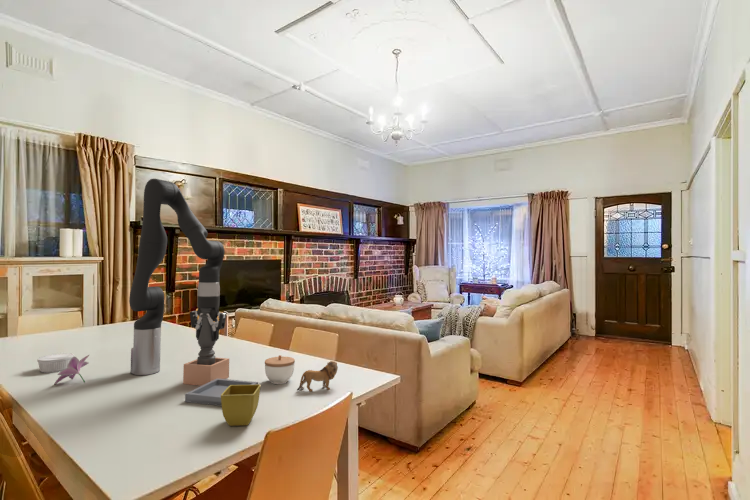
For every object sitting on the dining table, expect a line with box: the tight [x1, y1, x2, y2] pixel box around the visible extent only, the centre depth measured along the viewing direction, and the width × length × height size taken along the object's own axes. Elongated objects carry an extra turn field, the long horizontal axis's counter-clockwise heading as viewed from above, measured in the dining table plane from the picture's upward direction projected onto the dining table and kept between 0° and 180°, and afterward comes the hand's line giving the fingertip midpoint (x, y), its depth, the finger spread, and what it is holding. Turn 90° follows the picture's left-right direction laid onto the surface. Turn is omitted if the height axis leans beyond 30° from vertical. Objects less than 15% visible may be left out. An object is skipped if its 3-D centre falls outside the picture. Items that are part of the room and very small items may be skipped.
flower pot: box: [221, 384, 261, 427], centre depth 106 cm, size 9×9×9 cm
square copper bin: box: [182, 356, 230, 387], centre depth 141 cm, size 11×11×7 cm
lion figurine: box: [296, 360, 339, 393], centre depth 133 cm, size 15×5×9 cm, turn 118°
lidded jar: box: [264, 355, 296, 385], centre depth 141 cm, size 11×11×9 cm
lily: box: [53, 354, 90, 385], centre depth 137 cm, size 12×12×10 cm
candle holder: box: [197, 308, 217, 365], centre depth 141 cm, size 6×6×25 cm
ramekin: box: [37, 352, 75, 373], centre depth 152 cm, size 11×11×5 cm
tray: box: [184, 378, 259, 407], centre depth 126 cm, size 16×16×2 cm
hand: (207, 340), depth 141 cm, fingers closed on candle holder, 6 cm apart
